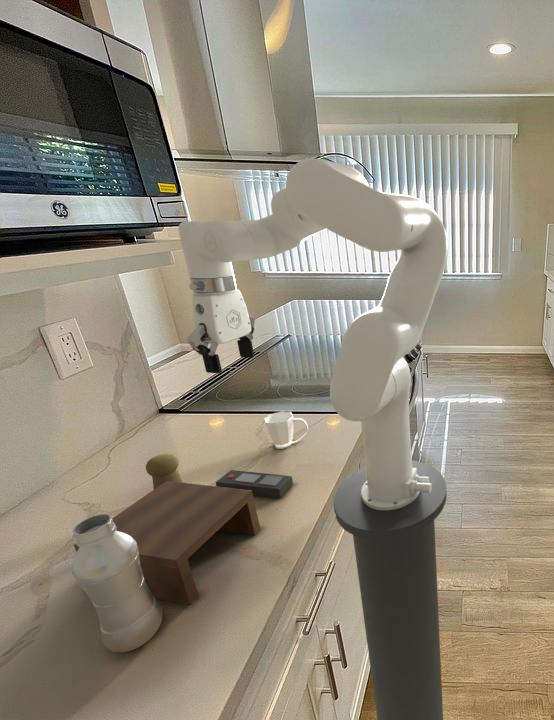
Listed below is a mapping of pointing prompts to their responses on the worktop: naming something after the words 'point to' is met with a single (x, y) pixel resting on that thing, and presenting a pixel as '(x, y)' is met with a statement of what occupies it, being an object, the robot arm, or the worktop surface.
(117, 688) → the worktop surface
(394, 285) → the robot arm
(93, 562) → the plastic bottle
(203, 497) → the shelf
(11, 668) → the worktop surface
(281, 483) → the remote
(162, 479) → the cork
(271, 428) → the cup
